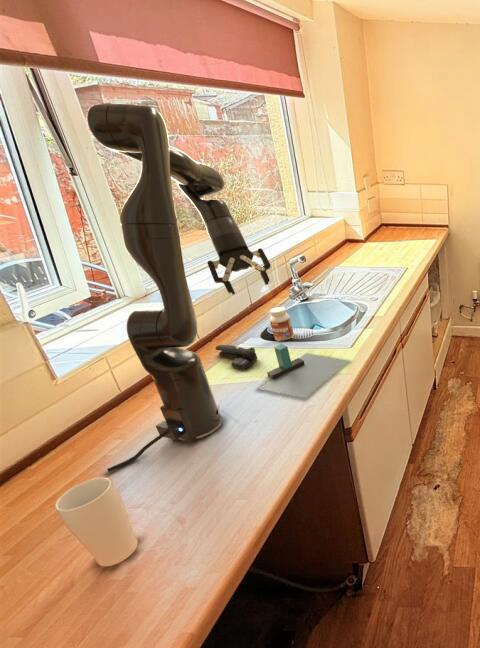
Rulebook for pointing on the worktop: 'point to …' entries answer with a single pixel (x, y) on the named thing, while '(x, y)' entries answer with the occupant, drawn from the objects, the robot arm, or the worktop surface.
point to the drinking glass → (98, 520)
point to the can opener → (238, 355)
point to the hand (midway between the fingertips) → (250, 289)
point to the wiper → (284, 362)
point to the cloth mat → (305, 376)
